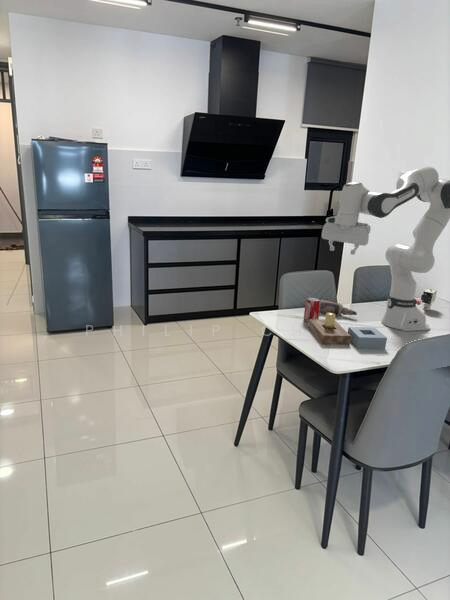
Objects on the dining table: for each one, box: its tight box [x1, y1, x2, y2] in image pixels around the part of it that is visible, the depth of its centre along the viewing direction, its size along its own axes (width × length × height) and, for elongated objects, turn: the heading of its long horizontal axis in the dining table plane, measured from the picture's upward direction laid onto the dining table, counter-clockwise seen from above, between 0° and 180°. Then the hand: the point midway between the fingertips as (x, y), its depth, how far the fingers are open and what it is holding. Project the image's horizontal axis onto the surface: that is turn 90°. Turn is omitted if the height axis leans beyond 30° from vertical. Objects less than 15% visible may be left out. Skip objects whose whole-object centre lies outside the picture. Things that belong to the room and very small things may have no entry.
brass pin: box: [324, 313, 337, 329], centre depth 193 cm, size 4×4×10 cm
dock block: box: [347, 326, 388, 350], centre depth 188 cm, size 12×12×6 cm
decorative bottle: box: [319, 299, 358, 317], centre depth 227 cm, size 26×8×7 cm, turn 60°
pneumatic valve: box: [420, 288, 438, 311], centre depth 244 cm, size 6×12×12 cm, turn 141°
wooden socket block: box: [307, 318, 351, 346], centre depth 194 cm, size 12×20×5 cm, turn 6°
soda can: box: [303, 296, 321, 324], centre depth 211 cm, size 7×7×12 cm
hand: (342, 252), depth 193 cm, fingers open, 8 cm apart
